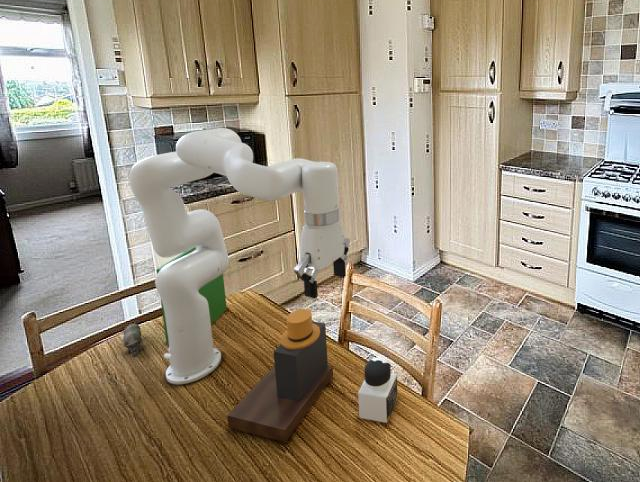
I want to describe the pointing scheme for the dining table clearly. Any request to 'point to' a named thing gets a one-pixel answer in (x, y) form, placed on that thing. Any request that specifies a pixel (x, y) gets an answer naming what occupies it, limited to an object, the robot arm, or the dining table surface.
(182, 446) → the dining table surface
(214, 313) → the hardback book
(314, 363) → the dark grey block
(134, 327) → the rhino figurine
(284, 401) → the brown flat slab
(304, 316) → the hat
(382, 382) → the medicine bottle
